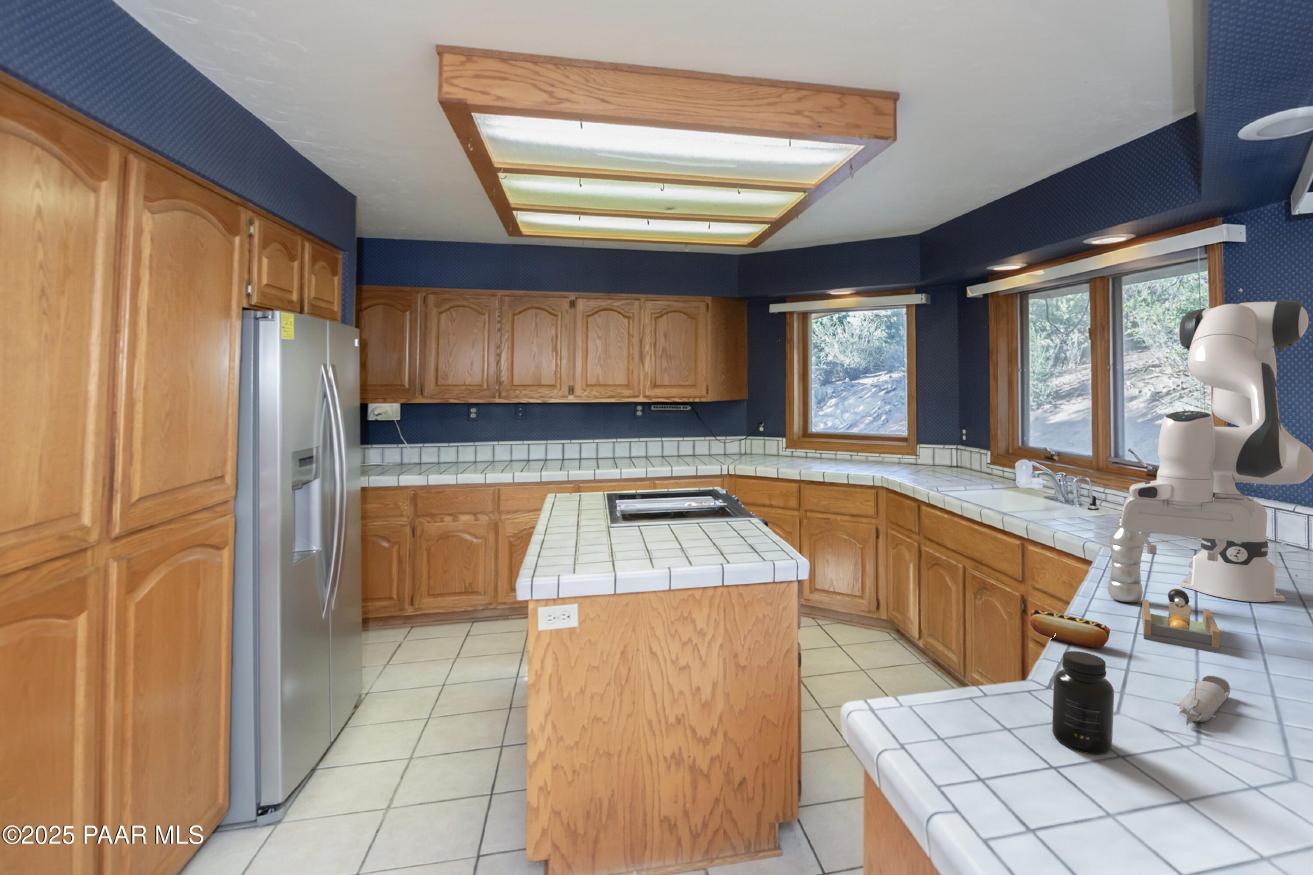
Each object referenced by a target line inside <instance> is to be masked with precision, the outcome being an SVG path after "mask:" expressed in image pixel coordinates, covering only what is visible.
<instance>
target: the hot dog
mask: <svg viewBox="0 0 1313 875" xmlns="http://www.w3.org/2000/svg"><path fill="white" fill-rule="evenodd" d="M1029 624H1030V626H1031V628H1032V629H1033V630H1034V631H1035V632H1036V633H1038V634H1039V635H1040V636H1044V637H1048V638H1050V639H1053V637H1054V635H1055V633H1056V636H1055V637H1054V640H1058V641H1060V642H1064V643H1070V644H1072V645H1076V646H1083V647H1089V648H1093V649H1094V648H1103V647H1104V646H1105V645H1106V644H1107V642H1108V641H1109V638H1110V633H1111V629H1110V628H1109V627H1108V626H1107V625H1105V624H1103V623H1099V622H1098V621H1094V620H1090V619H1085V618H1081V617H1077V616H1073V615H1068V614H1064V613H1059V612H1053V611H1048V610H1037V609H1034V610H1031V612H1030V618H1029Z"/></svg>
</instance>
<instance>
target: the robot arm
mask: <svg viewBox="0 0 1313 875" xmlns="http://www.w3.org/2000/svg"><path fill="white" fill-rule="evenodd" d="M1308 326H1309V315H1308V312H1307V311H1306V309H1305V306H1304V304H1302V303H1300V301H1298V300H1297V301H1296V300H1289V299H1288V300H1286V299H1284V300H1283V299H1278V300H1277V301H1252V302H1251V301H1250V302H1240V303H1227V304H1226V303H1225V304H1220V305H1217V306H1215V307H1211V308H1207V309H1206V308H1204V307H1203V308H1198V309H1195V310H1192V311H1189V312H1188V313H1186V314H1185V315H1184V316H1183V317H1182V318H1181V320H1180V323H1179V325H1178V329H1177V336H1178V339H1179V342H1180V345H1181V346H1182V348H1184V349H1186V350H1187V351H1188V354H1187V355H1188V356H1187V368H1188V370H1189V372H1190V374H1191V375H1192V376H1193V377H1194V378H1195V379H1196V380H1198V381H1199V382H1200V383H1203V384H1205V385H1206V386H1209V387H1212V399H1211V400H1212V401H1211V410H1212V412H1213V414H1214V415H1215V416H1216V417H1217V418H1219V419H1220V420H1222V421H1225V422H1227V423H1229V424H1232V425H1235V426H1236V427H1235V426H1215V424H1214V418H1213V415H1212V414H1211V413H1209V412H1205V411H1201V410H1183V411H1182V410H1181V411H1174V412H1170V413H1167V414H1166V415H1164V416H1163V419H1162V422H1161V427H1160V429H1159V437H1158V443H1157V445H1158V446H1157V456H1158V459H1159V467H1158V470H1157V472H1156V479H1155V480H1150V481H1145V482H1138V483H1133V484H1132V485H1130V486H1129V490H1128V491H1129V495H1130V496H1128V497H1127V498H1126V499H1125V501H1124V503H1123V506H1122V510H1121V511H1122V512H1121V527H1122V528H1123V529H1124V530H1127V531H1137V532H1139V533H1140V534H1141V537H1142V539H1143V540H1144V544H1145V545H1146V547H1147V550H1146V552H1147V553H1146V554H1149V555H1157V549H1158V548H1157V544H1152V543H1151V541H1150V540H1149V539H1150V537H1151V534H1159V535H1169V536H1177V537H1178V536H1179V537H1191V538H1199V539H1200V549H1201V550H1200V551H1199V552H1198V553H1196V554H1195V555H1194V556H1193V557H1192V558H1189V559H1188V568H1189V569H1190V570H1189V573H1188V575H1186V576H1185V578H1184V579H1182V581H1181V583H1180V587H1183V588H1186V589H1189V590H1190V589H1191V590H1193V591H1197V592H1200V593H1203V594H1206V595H1210V596H1212V597H1213V596H1214V597H1218V598H1223V599H1228V600H1234V601H1240V602H1241V601H1242V602H1250V603H1251V602H1253V603H1267V602H1286V597H1285V596H1284V595H1283V594H1281V593H1279V592H1277V590H1276V585H1277V584H1276V581H1277V580H1276V579H1277V578H1276V574H1277V573H1276V570H1277V569H1276V565H1274V564H1273V563H1272V562H1271V561H1270V560H1269V559H1268V558H1267V557H1268V554H1269V542H1268V540H1267V526H1268V525H1267V524H1268V512H1267V510H1266V508H1265V507H1264V505H1262V504H1261V503H1259V502H1258V501H1257V500H1255V499H1253V498H1251V497H1248V496H1246V495H1245V494H1242V493H1241V492H1239V490H1238V489H1237V487H1236V483H1242V484H1243V483H1245V484H1246V483H1247V484H1257V485H1271V486H1279V485H1281V486H1282V485H1298V484H1302V483H1304V482H1305V481H1307V480H1308V479H1309V478H1311V477H1312V475H1313V450H1312V449H1311V448H1310V447H1309V446H1308V445H1306V444H1305V443H1304V442H1301V441H1300V440H1299V439H1297V438H1295V437H1294V436H1293V435H1292V434H1290V433H1289V432H1288V430H1286V428H1285V427H1284V426H1283V424H1282V422H1281V417H1280V416H1281V415H1280V405H1279V397H1278V396H1279V395H1278V388H1277V381H1278V380H1277V379H1278V378H1277V377H1278V370H1277V357H1276V353H1275V351H1276V350H1275V349H1277V351H1278V354H1281V353H1283V352H1284V351H1285V349H1286V348H1289V347H1292V346H1294V345H1295V344H1297V343H1299V341H1300V340H1302V339H1303V337H1304V335H1305V333H1306V331H1307V330H1308Z"/></svg>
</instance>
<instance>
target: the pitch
mask: <svg viewBox="0 0 1313 875" xmlns="http://www.w3.org/2000/svg"><path fill="white" fill-rule="evenodd" d="M1141 603H1142V605H1141V621H1142V622H1141V623H1142V634H1143V639H1144V640H1148V641H1153V642H1154V641H1155V642H1158V643H1164V644H1169V643H1170V644H1169V645H1175V646H1179V645H1180V647H1185V646H1186V648H1191V649H1196V650H1201V651H1206V650H1207V652H1211V651H1213V652H1212V653H1216V652H1217V653H1218V654H1219V653H1220V639H1221V638H1220V636H1221V632H1220V629H1219V627H1218V625H1217V624H1218V623H1216V620H1215V619H1214V615H1213V613H1212V611H1211V609H1210V608H1208V609H1207V608H1203V615H1202V621H1197V620H1191V619H1190V628H1189V629H1190V630H1187V629H1181V628H1176V627H1170V626H1168V615H1167V616H1166V615H1161V614H1154V613H1151V609H1150V608H1151V607H1150V601H1149V599H1144V598H1142V602H1141Z"/></svg>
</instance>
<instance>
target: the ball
mask: <svg viewBox="0 0 1313 875" xmlns="http://www.w3.org/2000/svg"><path fill="white" fill-rule="evenodd" d="M1170 627H1176V628H1181V629H1187V630H1190V629H1189V626H1188V624H1187V623H1185V622H1184V621H1181V620H1174V621H1172V622H1171V623H1170Z"/></svg>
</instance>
